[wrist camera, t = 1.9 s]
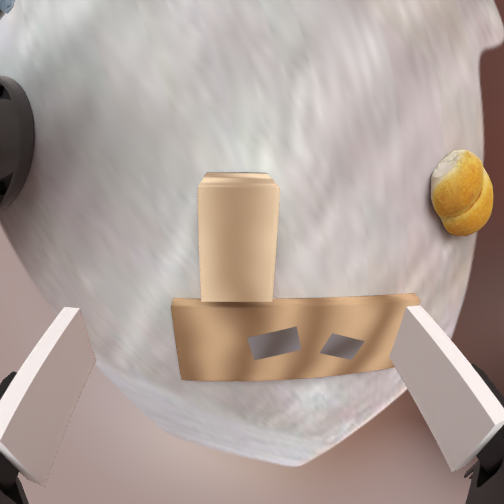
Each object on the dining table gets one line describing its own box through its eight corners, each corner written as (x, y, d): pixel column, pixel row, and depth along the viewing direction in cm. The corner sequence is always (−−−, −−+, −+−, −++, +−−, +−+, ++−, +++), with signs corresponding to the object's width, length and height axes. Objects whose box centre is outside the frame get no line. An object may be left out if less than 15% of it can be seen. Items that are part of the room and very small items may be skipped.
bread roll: (450, 243, 29) (471, 258, 25) (415, 185, 26) (438, 195, 22) (490, 196, 27) (512, 205, 23) (460, 135, 24) (485, 139, 20)
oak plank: (183, 370, 32) (181, 380, 31) (173, 298, 29) (170, 306, 27) (391, 359, 34) (395, 367, 33) (414, 293, 30) (420, 300, 29)
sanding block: (207, 260, 27) (201, 301, 21) (206, 171, 24) (197, 187, 18) (262, 260, 28) (272, 301, 21) (267, 172, 25) (279, 188, 18)
